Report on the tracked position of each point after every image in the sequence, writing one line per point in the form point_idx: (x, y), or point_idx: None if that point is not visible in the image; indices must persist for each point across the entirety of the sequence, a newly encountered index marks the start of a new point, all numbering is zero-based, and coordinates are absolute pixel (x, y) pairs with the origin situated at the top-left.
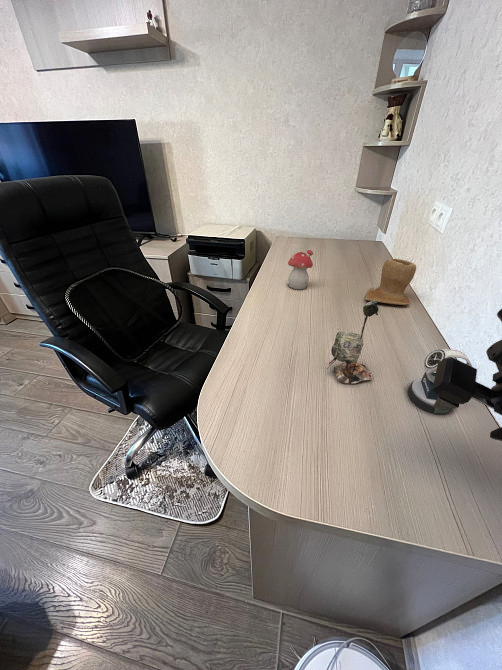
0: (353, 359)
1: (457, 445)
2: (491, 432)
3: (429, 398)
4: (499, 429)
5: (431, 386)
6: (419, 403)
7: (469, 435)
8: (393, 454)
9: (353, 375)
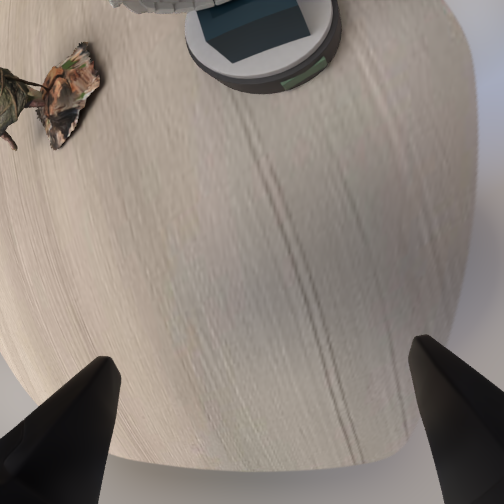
0: (2, 119)
1: (371, 197)
2: (415, 346)
3: (241, 58)
4: (436, 382)
5: (203, 32)
6: (228, 84)
7: (406, 128)
8: (202, 325)
9: (56, 117)
